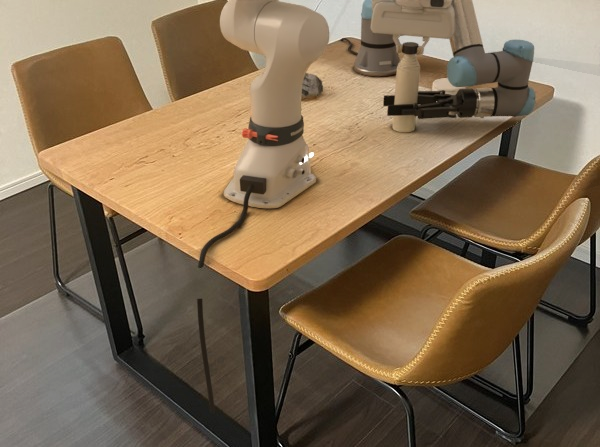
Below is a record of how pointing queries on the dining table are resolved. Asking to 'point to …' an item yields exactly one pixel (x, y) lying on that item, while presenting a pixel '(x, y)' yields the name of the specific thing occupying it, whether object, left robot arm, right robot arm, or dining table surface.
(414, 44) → the cap
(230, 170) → the dining table surface
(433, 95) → the right robot arm
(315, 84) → the rock
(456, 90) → the cream round flat disc
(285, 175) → the left robot arm
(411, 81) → the bottle
